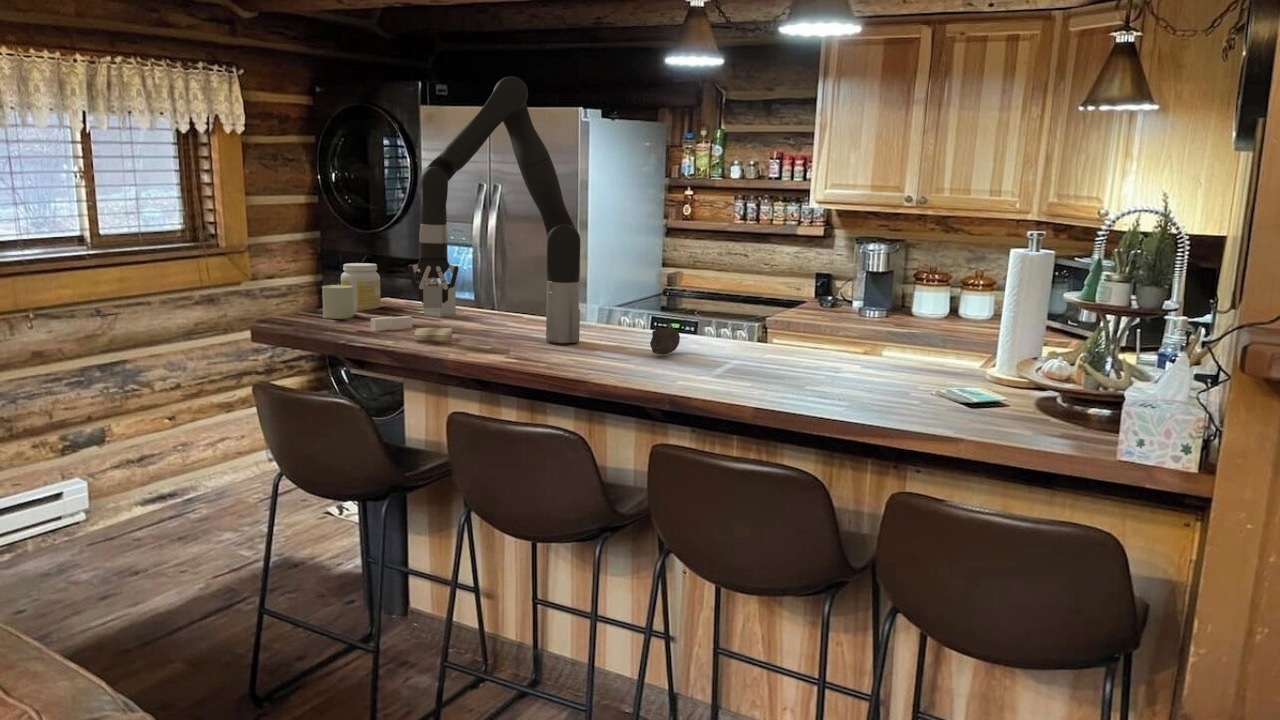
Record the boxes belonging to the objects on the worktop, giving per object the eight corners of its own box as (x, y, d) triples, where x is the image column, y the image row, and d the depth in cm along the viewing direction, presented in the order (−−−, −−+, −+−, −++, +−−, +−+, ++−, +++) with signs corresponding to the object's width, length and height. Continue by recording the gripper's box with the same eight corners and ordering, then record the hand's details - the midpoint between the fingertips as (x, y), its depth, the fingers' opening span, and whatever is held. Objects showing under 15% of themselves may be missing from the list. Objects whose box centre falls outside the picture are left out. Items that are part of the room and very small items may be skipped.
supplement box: (456, 323, 301) (456, 283, 299) (439, 325, 295) (439, 284, 293) (439, 320, 305) (439, 281, 303) (422, 323, 299) (422, 282, 296)
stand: (452, 336, 273) (452, 328, 273) (452, 344, 260) (452, 335, 260) (416, 336, 271) (416, 328, 271) (414, 344, 259) (414, 334, 258)
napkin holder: (417, 333, 281) (417, 314, 280) (414, 339, 270) (414, 319, 269) (365, 332, 279) (365, 313, 278) (360, 338, 268) (359, 318, 267)
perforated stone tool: (669, 348, 266) (670, 323, 265) (686, 350, 264) (687, 325, 263) (645, 355, 253) (645, 329, 252) (662, 357, 251) (663, 331, 249)
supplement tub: (385, 314, 314) (384, 263, 312) (374, 319, 302) (373, 266, 300) (348, 313, 315) (347, 262, 312) (336, 318, 303) (335, 265, 300)
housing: (444, 304, 269) (444, 279, 268) (441, 308, 261) (441, 282, 259) (425, 303, 269) (425, 279, 267) (423, 307, 260) (423, 282, 259)
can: (322, 322, 293) (321, 283, 291) (354, 322, 296) (353, 283, 294) (322, 326, 285) (321, 286, 282) (354, 326, 287) (353, 286, 285)
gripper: (460, 241, 266) (459, 301, 269) (407, 239, 263) (407, 300, 266) (460, 242, 259) (460, 304, 262) (405, 241, 256) (406, 304, 259)
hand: (433, 302), depth 264 cm, fingers closed on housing, 5 cm apart
